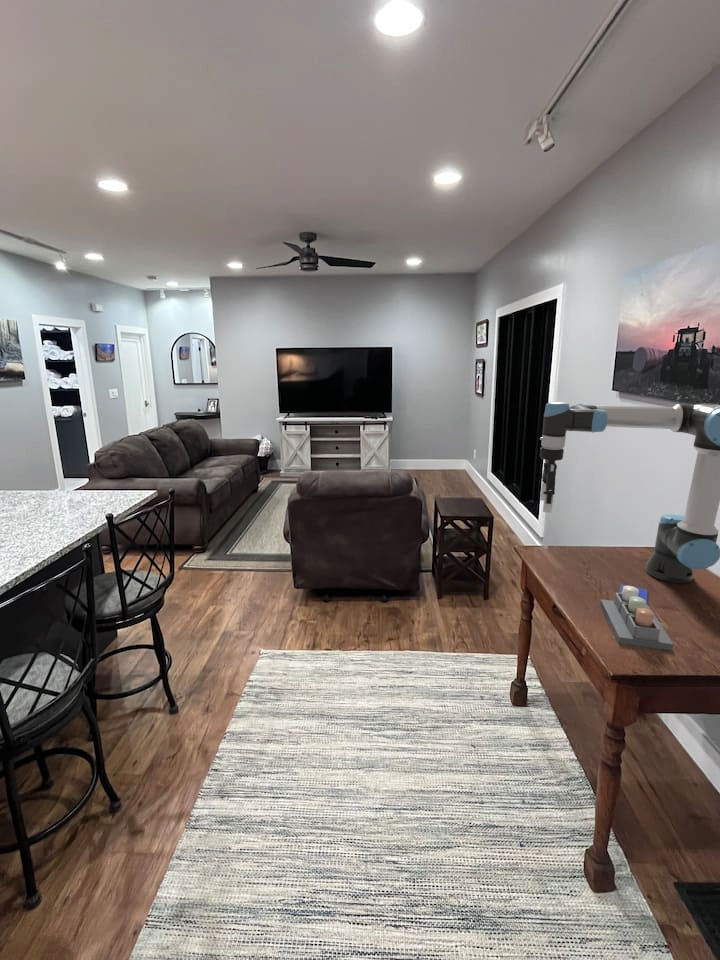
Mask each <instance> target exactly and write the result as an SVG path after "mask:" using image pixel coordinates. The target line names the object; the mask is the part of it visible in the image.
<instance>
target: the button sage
mask: <svg viewBox="0 0 720 960" xmlns="http://www.w3.org/2000/svg"><path fill="white" fill-rule="evenodd" d="M645 607H646V600H644V599H643V598H640V597H635V596H633V597H630V599H629V605H628V612H629V613H631V614H636V612H637V609H638V608H645Z"/></svg>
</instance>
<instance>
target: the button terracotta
mask: <svg viewBox="0 0 720 960" xmlns="http://www.w3.org/2000/svg"><path fill="white" fill-rule="evenodd" d="M654 615H655V612H654V611H652V609H651V610H648V609H645V608H638V609H637V612H636V617H635V624H636V625H637V626H640V627H648V628H652V624H653V619H654Z"/></svg>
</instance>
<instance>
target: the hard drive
mask: <svg viewBox="0 0 720 960" xmlns="http://www.w3.org/2000/svg"><path fill="white" fill-rule="evenodd" d="M624 586H629V585H627V584H621V585H620V589H619V590H620V591H619V593H622V591H623V587H624ZM634 587H635V588H637V589H638V590H639V594H638V596H639V597H640V598H643V599H644V600H646V605H648V593H649V592H648V589H646V588H640V587H636V586H634Z"/></svg>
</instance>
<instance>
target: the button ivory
mask: <svg viewBox="0 0 720 960" xmlns="http://www.w3.org/2000/svg"><path fill="white" fill-rule="evenodd" d="M635 587H636V586H632V585H628V586H624V587H623V591H622V597H621V600H622V601H624V602H629V599H630V597H633V596H635V597H638V594H639V590H638V589H637V588H638V587H637V588H635Z"/></svg>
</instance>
